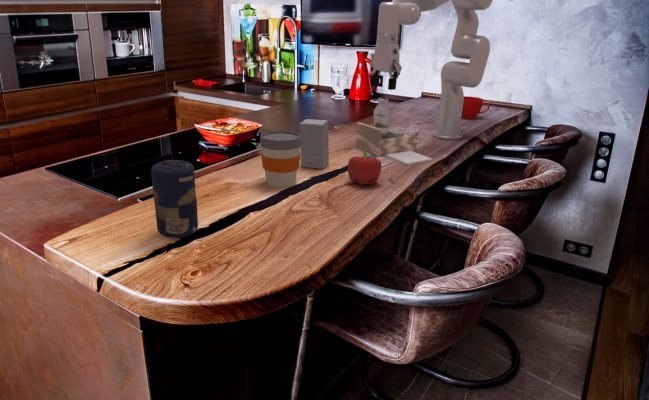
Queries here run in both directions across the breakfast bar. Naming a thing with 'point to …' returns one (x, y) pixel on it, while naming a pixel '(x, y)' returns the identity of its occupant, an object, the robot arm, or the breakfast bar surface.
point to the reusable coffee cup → (280, 157)
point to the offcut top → (394, 133)
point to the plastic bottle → (382, 117)
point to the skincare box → (314, 143)
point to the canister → (175, 198)
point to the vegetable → (364, 169)
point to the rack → (382, 141)
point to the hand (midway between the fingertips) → (383, 87)
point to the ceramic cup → (472, 107)
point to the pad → (408, 157)
